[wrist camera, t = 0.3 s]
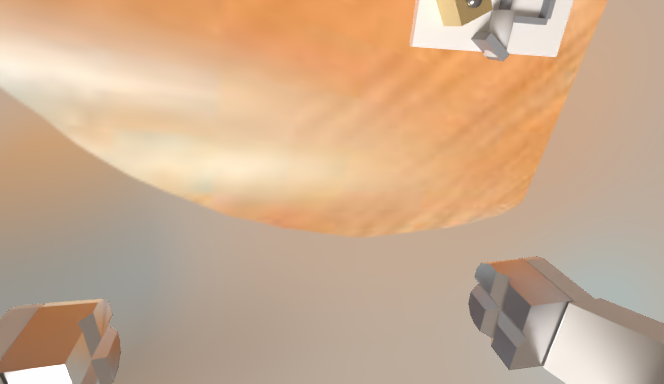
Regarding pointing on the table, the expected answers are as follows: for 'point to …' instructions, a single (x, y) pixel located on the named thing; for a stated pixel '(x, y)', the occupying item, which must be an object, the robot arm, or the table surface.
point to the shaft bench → (518, 36)
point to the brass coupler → (462, 11)
